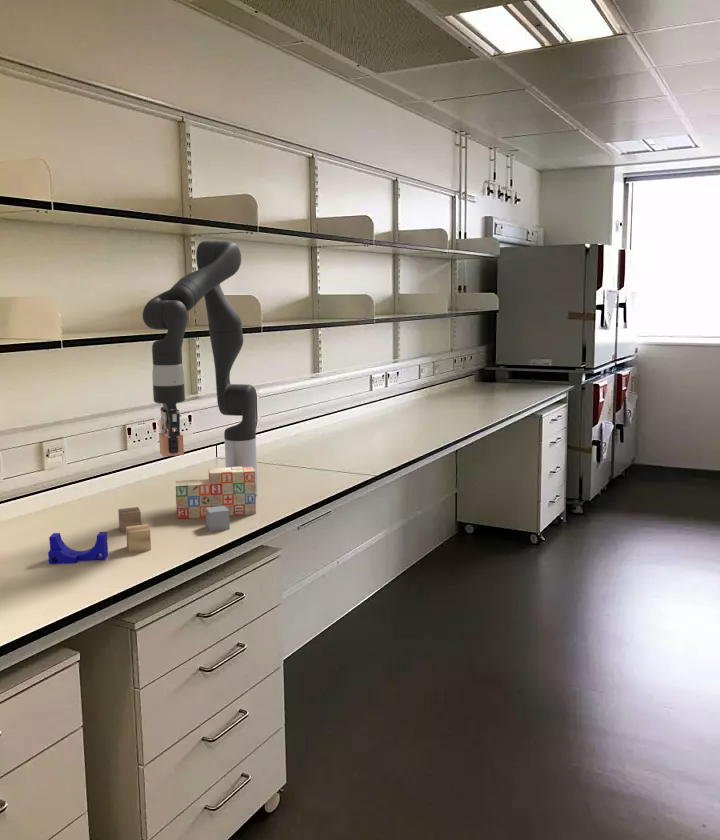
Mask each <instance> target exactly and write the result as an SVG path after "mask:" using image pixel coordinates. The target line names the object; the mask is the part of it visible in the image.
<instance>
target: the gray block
mask: <svg viewBox="0 0 720 840" xmlns="http://www.w3.org/2000/svg"><path fill="white" fill-rule="evenodd" d="M205 521H206V523H205V526H206V527H207V529H208V530H209V531H210V532H216V530H217V531H222V530H223V529H225V530H230V528H231V527H230V515H229V510H228V509H227V508H226V507H225V506H217V507H208V508H206V517H205ZM223 531H224V530H223Z"/></svg>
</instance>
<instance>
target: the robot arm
mask: <svg viewBox="0 0 720 840" xmlns="http://www.w3.org/2000/svg"><path fill="white" fill-rule="evenodd" d="M195 255H196V256H195V258H196V259H195V260H196V267H197V270H194V271H192V272H190V273H188V274H186V275H184V276H182V277H181V278H180V279H179V280H178V281H177V282H176V283H174V285H172V287H171V288H169V289H168V290H166V291H164V292H162V293H160V294H157V296H154V297H152V298H151V299H150V300H148V302H147V303H146V304H145V305H144V307H143V311H142V321H143V322H144V325H146V326H147V327H148V328H149V329H152V330H167V333H166V335H165V337H164V338H162V339H157V340H155V341H153V343H152V346H151V352H152V353H151V354H152V355H151V356H152V374H151V375H152V377H151V378H152V379H151V380H152V392H153V394H152V395H153V396H152V397H153V398H152V399H153V402H154V403H156V404H159V405H160V404H162V406H161V407H160V416H161V430H162V431H163V432H162V433H168V435H167V437H168V443H169V453H178V437H179V436H180V433H181V427H180V426H181V423H180V422H181V421H180V420H181V414H180V410H179V409H178V408H177V407H178V406H177V404H178V403H183V402H185V400H186V394H185V393H186V391H185V373H184V372H185V371H184V367H183V353H182V352H183V351H182V348H183V343H184V337H185V334H186V329H187V325H188V319H189V318H188V317H189V316H188V312H190V311H191V310H192V309H193V308H194V307H195V306H196V305H197V304H198V303H199V302H200V301H201V299H202V298H203V297H204V302H205V308H206V316H207V322H208V324H207V325H208V333H209V337H210V338H209V339H210V344H211V349H212V351H211V352H212V356H213V363H214V372H215V373H214V374H215V388H216V401H217V402H216V403H217V407H218V410H219V412H220V414H221V415H223V416H240V417H241V416H242V417H241V421H240V422H239V423H238V424H236V425H232V426H228V427H226V429H225V430H224V432H223V434H224V461H225V463H224V464H225V468H228V467H230V468H231V467H253V468H254V470H255V482H256V496H257V495H258V466H257V465H258V463H257V462H258V461H257V436H256V435H257V434H256V433H257V391H256V389H255V387H254V385H253V384H246V383H245V384H237V383H236V384H235V383H233V384H232V383H231V381H230V376H231V375H230V374H231V370H232V367H233V365H234V363H235V361H236V359H237V357H238V355H239V354H240V352H241V349H242V347H243V345H244V333H243V326H242V320H241V317H240V315H239V313H238V312H237V310H236V309H235V307H234V306H233V305H232V303H231V302H230V301H229V299H228V298H227V296H226V295H225V294H224V292H223V290H222V287H221V284H222V283H223V282H225V281H226V280H228V279H229V278H231V277H232V276H234V275H236V273H237V272H238V271H239V269H240V267H241V264H242V253H241V250H240V247H239V246H238V244H236V243H234V242H232V241H225V240H222V241H221V240H203V241H201V242H200V243H199V244H198V245H197V247H196V252H195Z"/></svg>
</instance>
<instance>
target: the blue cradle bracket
mask: <svg viewBox="0 0 720 840" xmlns="http://www.w3.org/2000/svg"><path fill="white" fill-rule="evenodd" d="M48 538H49V550H48V552H47V555H48V564H49V565H59V564H60V565H61V564H62V565H63V564H77V563H79V562H88V561H89V562H93V561H106V560H107V559H108V557H109V550H108V549H109V548H108V547H109V545H108V531H100V532H98V533H97V535H96V541H95V543H94V545H93V547H91V548H90V549H87V550H76V549H72V548H70V547H69V546H68V545H66V544H65V543H64V541H63V539H62V536H61V532H53V533H52V534H51V535H50V536H49V537H48Z"/></svg>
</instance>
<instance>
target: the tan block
mask: <svg viewBox="0 0 720 840" xmlns="http://www.w3.org/2000/svg"><path fill="white" fill-rule="evenodd" d="M117 512H118V529H119V531H120V533H121V534H122V533H126V527H128V526H137V525H142V513H141V509H140V508H139V506H137V507H125V508H118V511H117Z"/></svg>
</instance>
